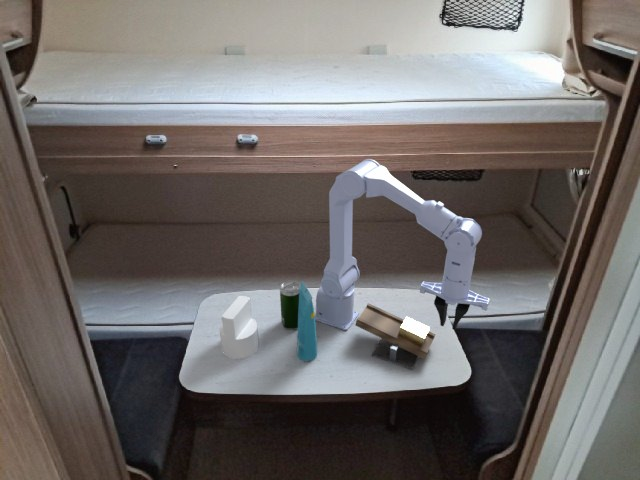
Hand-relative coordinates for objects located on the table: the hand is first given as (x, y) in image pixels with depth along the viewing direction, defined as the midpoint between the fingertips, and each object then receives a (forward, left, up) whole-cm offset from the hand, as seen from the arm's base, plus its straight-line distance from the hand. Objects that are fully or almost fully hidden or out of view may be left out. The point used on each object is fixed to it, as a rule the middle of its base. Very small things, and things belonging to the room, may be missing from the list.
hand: (448, 325), depth 106 cm
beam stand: (-11, 0, -10) cm, 15 cm away
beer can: (-39, -5, -11) cm, 40 cm away
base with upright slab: (-46, -18, -11) cm, 50 cm away
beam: (-13, 0, -8) cm, 15 cm away
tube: (-30, -13, -11) cm, 34 cm away
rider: (-8, 0, -6) cm, 10 cm away
